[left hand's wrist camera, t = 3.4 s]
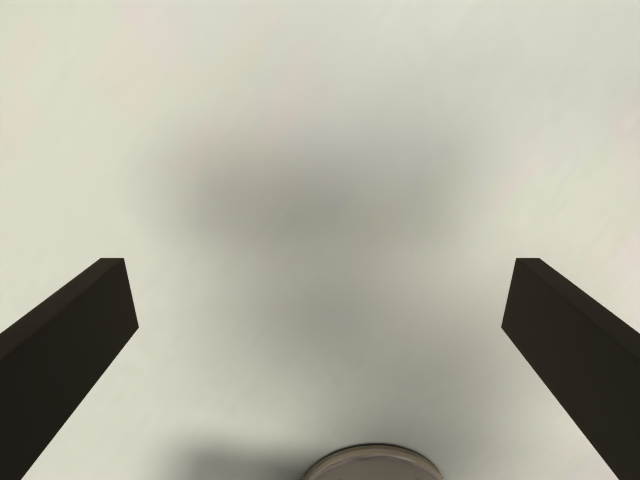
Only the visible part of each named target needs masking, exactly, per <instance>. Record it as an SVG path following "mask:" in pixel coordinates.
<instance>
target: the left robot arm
mask: <svg viewBox="0 0 640 480" xmlns="http://www.w3.org/2000/svg"><path fill="white" fill-rule="evenodd" d="M138 328H139V326H138V321H137V317H136V312H135V307H134V303H133V298H132V294H131V289H130V284H129V280H128V275H127V271H126V266H125V261H124V258H100V259H99V260H98V261H96V262H95V263H94V264H92V265H91V266H90V267H88V268H87V269H86V270H84V271H83V272H82V273H80V274H79V275H78V276H76V277H75V278H74V279H72V280H71V281H70V282H68V283H67V284H66V285H64V286H63V287H62V288H60V289H59V290H58V291H56V292H55V293H54V294H52V295H51V296H50V297H48V298H47V299H46V300H44V301H43V302H42V303H40V304H39V305H38V306H36V307H35V308H34V309H32V310H31V311H30V312H28V313H27V314H26V315H24V316H23V317H22V318H20V319H19V320H18V321H16V322H15V323H14V324H12V325H11V326H10V327H8V328H7V329H6V330H5V331H3V332H2V333H1V334H0V480H21V479H22V478H23V476H24V475H25V474H26V472H27V471H28V470H29V469H30V467H31V466H32V465H33V463H34V462H35V461H36V460H37V458H38V457H39V456H40V454H41V453H42V452H43V451H44V449H45V448H46V447H47V445H48V444H49V443H50V441H51V440H52V439H53V438H54V436H55V435H56V434H57V432H58V431H59V430H60V429H61V427H62V426H63V425H64V423H65V422H66V421H67V420H68V418H69V417H70V416H71V414H72V413H73V412H74V410H75V409H76V408H77V407H78V405H79V404H80V403H81V401H82V400H83V399H84V398H85V396H86V395H87V394H88V392H89V391H90V390H91V389H92V387H93V386H94V385H95V383H96V382H97V381H98V379H99V378H100V377H101V376H102V374H103V373H104V372H105V370H106V369H107V368H108V367H109V365H110V364H111V363H112V361H113V360H114V359H115V358H116V356H117V355H118V354H119V352H120V351H121V350H122V348H123V347H124V346H125V345H126V343H127V342H128V341H129V339H130V338H131V337H132V336H133V334H134V333H135V332H136V330H137V329H138ZM501 328H502V329H503V330H504V332H505V333H506V334H507V336H508V337H509V338H510V339H511V341H512V342H513V343H514V345H515V346H516V347H517V348H518V350H519V351H520V352H521V354H522V355H523V356H524V358H525V359H526V360H527V361H528V363H529V364H530V365H531V367H532V368H533V369H534V370H535V372H536V373H537V374H538V376H539V377H540V378H541V379H542V381H543V382H544V383H545V385H546V386H547V387H548V389H549V390H550V391H551V392H552V394H553V395H554V396H555V398H556V399H557V400H558V401H559V403H560V404H561V405H562V407H563V408H564V409H565V410H566V412H567V413H568V414H569V416H570V417H571V418H572V420H573V421H574V422H575V423H576V425H577V426H578V427H579V429H580V430H581V431H582V432H583V434H584V435H585V436H586V438H587V439H588V440H589V441H590V443H591V444H592V445H593V447H594V448H595V449H596V451H597V452H598V453H599V454H600V456H601V457H602V458H603V460H604V461H605V462H606V463H607V465H608V466H609V467H610V469H611V470H612V471H613V472H614V474H615V475H616V476H617V478H618V479H619V480H640V334H639V333H638V332H637V331H635V330H634V329H633V328H632V327H630V326H629V325H628V324H626V323H625V322H624V321H622V320H621V319H620V318H618V317H617V316H616V315H614V314H613V313H612V312H610V311H609V310H608V309H606V308H605V307H604V306H602V305H601V304H600V303H598V302H597V301H596V300H594V299H593V298H592V297H590V296H589V295H588V294H586V293H585V292H584V291H582V290H581V289H580V288H578V287H577V286H576V285H574V284H573V283H572V282H570V281H569V280H568V279H566V278H565V277H564V276H562V275H561V274H560V273H558V272H557V271H556V270H554V269H553V268H552V267H550V266H549V265H548V264H546V263H545V262H544V261H542V260H541V259H540V258H516V261H515V266H514V271H513V275H512V280H511V284H510V289H509V294H508V298H507V303H506V307H505V312H504V317H503V321H502V326H501ZM302 480H442V477H441V475H440V473H439V472H438V470H437V469H436V468H435V467H434V465H433V464H432V463H430V462H429V461H428V460H427V459H425V458H424V457H422V456H420V455H418V454H416V453H414V452H412V451H409V450H406V449H402V448H398V447H393V446H384V445H368V446H359V447H354V448H349V449H345V450H342V451H339V452H336V453H334V454H332V455H330V456H328V457H326V458H324V459H322V460H321V461H319V462H318V463H316V464H315V465H314V466H313V467H312V468H311V469H310V470H309V471H308V472H307V473H306V474H305V475H304V477H303V478H302Z"/></svg>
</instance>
